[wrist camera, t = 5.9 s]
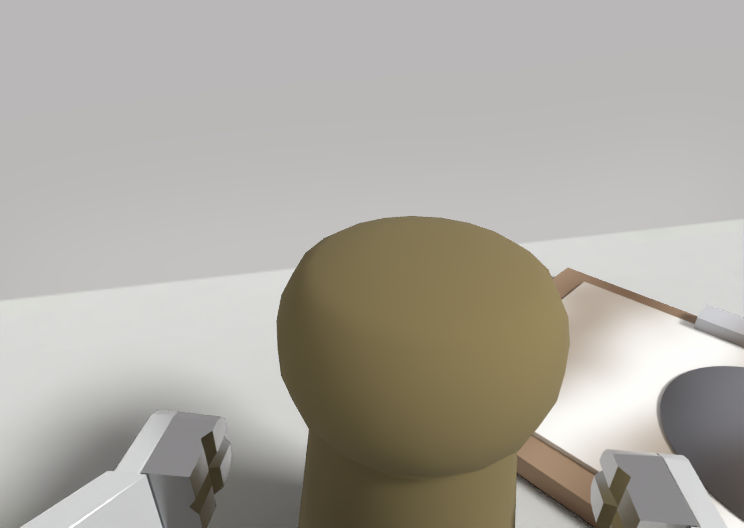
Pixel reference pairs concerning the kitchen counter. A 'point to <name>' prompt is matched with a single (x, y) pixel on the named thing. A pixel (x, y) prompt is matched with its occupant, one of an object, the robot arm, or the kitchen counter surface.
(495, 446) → the cork
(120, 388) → the kitchen counter surface
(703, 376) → the clipboard
